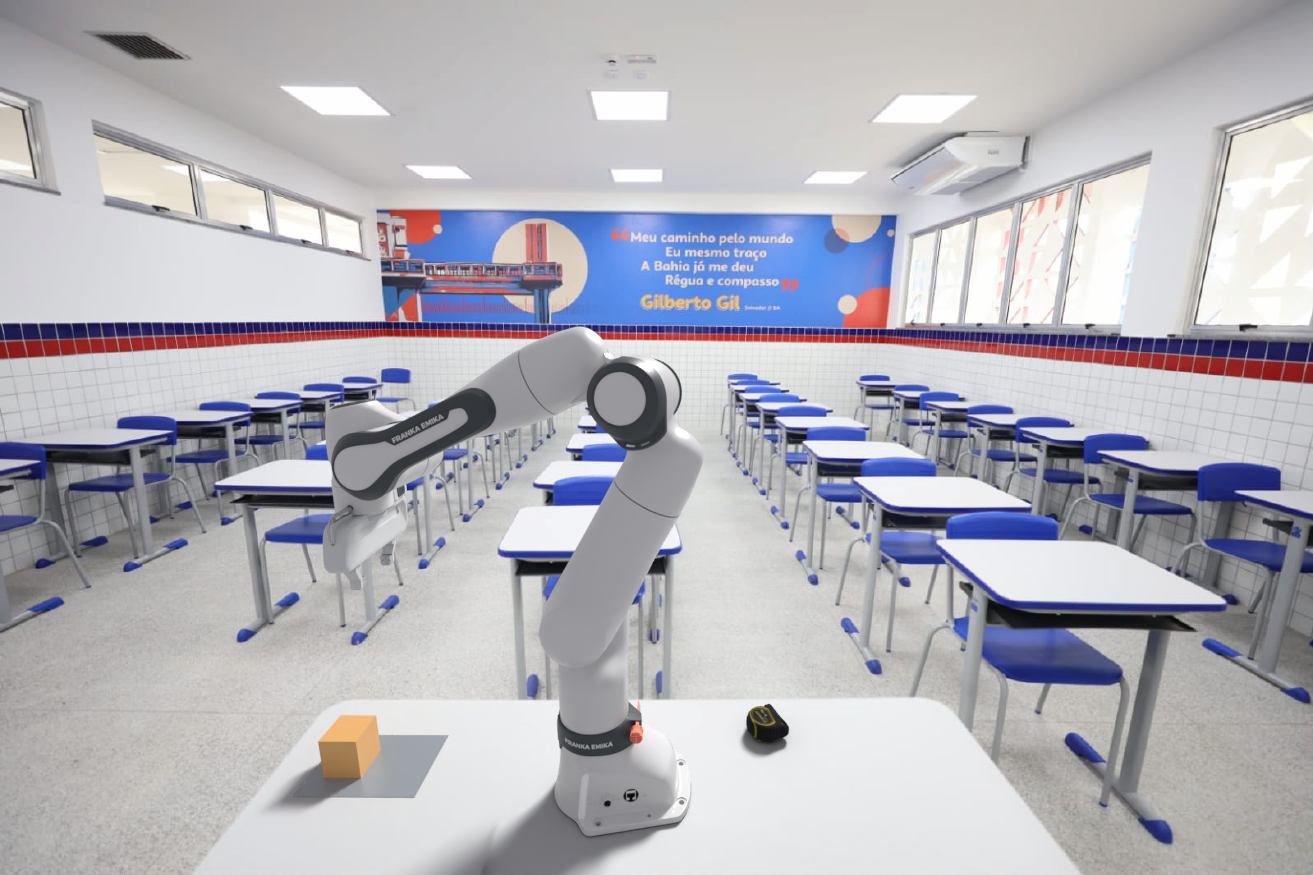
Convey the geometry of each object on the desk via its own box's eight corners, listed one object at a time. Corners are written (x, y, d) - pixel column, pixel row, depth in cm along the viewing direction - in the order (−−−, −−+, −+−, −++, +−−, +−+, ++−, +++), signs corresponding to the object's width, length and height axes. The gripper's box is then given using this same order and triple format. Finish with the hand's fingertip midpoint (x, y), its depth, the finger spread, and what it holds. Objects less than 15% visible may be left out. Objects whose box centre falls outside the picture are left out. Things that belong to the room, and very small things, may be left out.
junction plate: (449, 742, 104) (446, 713, 103) (415, 805, 90) (411, 772, 89) (343, 741, 105) (339, 713, 104) (293, 804, 91) (288, 772, 90)
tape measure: (790, 741, 103) (791, 723, 102) (756, 750, 101) (757, 732, 100) (772, 717, 109) (772, 700, 108) (739, 725, 107) (740, 707, 106)
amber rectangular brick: (380, 749, 101) (376, 715, 99) (361, 778, 94) (355, 741, 93) (345, 749, 101) (340, 715, 99) (323, 777, 94) (318, 741, 93)
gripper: (347, 518, 83) (358, 604, 86) (410, 480, 103) (418, 552, 106) (305, 518, 83) (317, 604, 86) (377, 481, 103) (385, 552, 106)
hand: (374, 575), depth 96 cm, fingers open, 8 cm apart
